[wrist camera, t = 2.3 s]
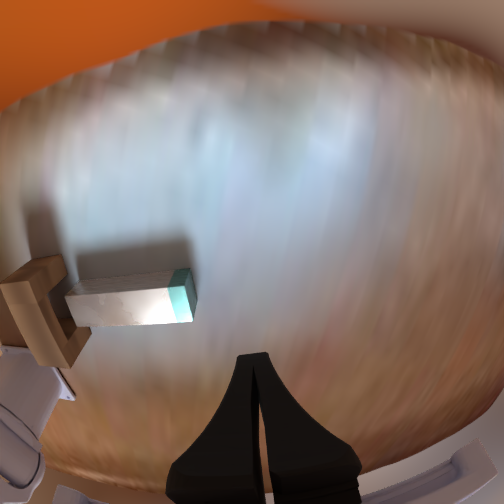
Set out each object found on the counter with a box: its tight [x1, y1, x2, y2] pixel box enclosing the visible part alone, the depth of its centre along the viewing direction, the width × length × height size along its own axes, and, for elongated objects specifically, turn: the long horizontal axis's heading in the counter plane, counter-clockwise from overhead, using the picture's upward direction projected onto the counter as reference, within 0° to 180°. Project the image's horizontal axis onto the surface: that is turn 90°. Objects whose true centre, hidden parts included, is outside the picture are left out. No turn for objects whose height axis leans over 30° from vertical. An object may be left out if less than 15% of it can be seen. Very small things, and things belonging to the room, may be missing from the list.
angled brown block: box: [0, 254, 92, 369], centre depth 19 cm, size 4×8×5 cm, turn 6°
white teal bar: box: [64, 268, 197, 327], centre depth 20 cm, size 10×3×3 cm, turn 96°
